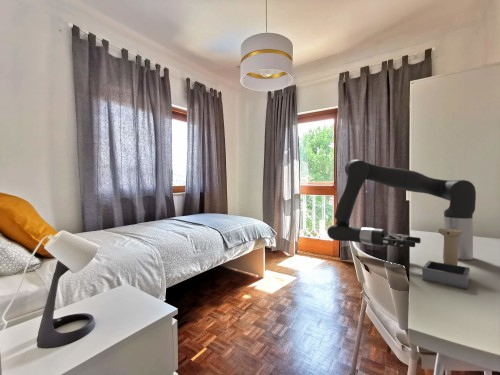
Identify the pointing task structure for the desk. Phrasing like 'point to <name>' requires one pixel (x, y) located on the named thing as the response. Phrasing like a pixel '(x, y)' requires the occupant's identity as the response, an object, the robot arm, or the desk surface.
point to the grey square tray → (446, 274)
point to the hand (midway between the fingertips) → (417, 242)
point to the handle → (450, 245)
